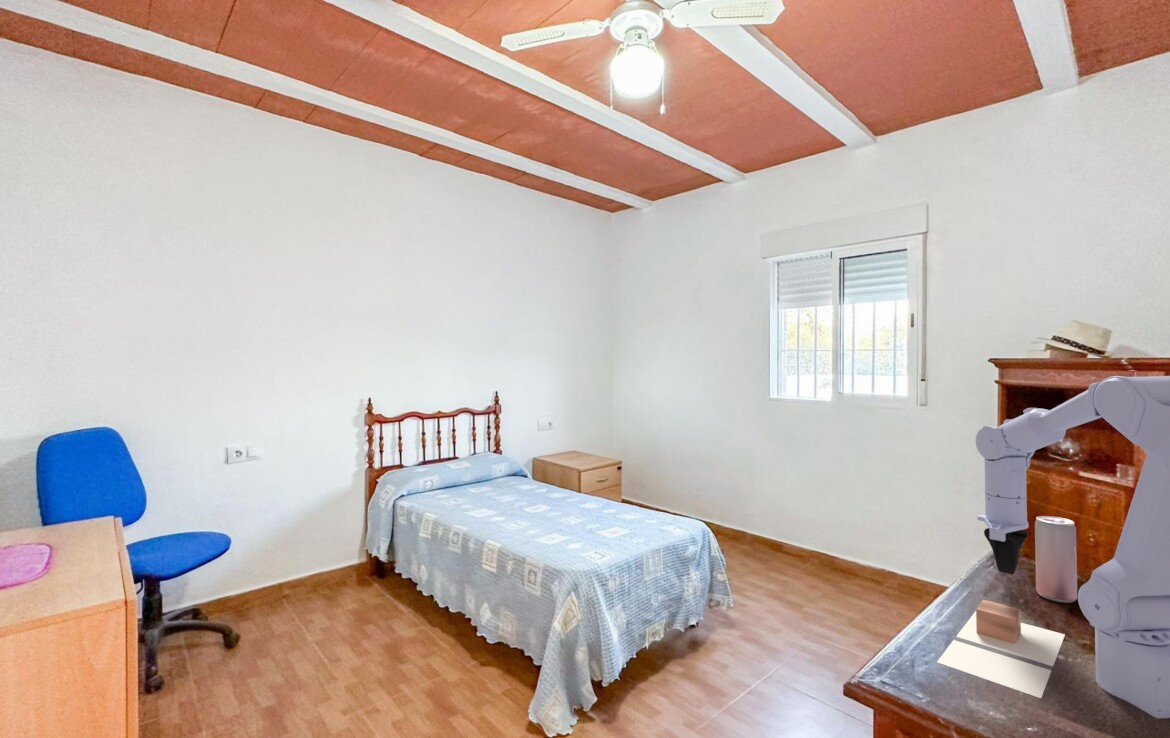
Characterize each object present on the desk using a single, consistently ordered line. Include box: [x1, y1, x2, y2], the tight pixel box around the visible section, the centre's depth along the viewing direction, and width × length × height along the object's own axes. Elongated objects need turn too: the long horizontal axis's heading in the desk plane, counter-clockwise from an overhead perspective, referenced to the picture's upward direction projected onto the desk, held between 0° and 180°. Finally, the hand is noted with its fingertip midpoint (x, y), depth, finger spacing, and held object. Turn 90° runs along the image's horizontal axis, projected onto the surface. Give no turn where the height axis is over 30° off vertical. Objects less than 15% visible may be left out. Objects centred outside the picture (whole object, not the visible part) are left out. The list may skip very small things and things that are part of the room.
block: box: [975, 599, 1022, 644], centre depth 87 cm, size 5×5×4 cm
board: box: [936, 610, 1066, 699], centre depth 83 cm, size 24×12×1 cm, turn 132°
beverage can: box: [1034, 515, 1078, 604], centre depth 102 cm, size 6×6×15 cm
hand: (1006, 571), depth 92 cm, fingers closed
